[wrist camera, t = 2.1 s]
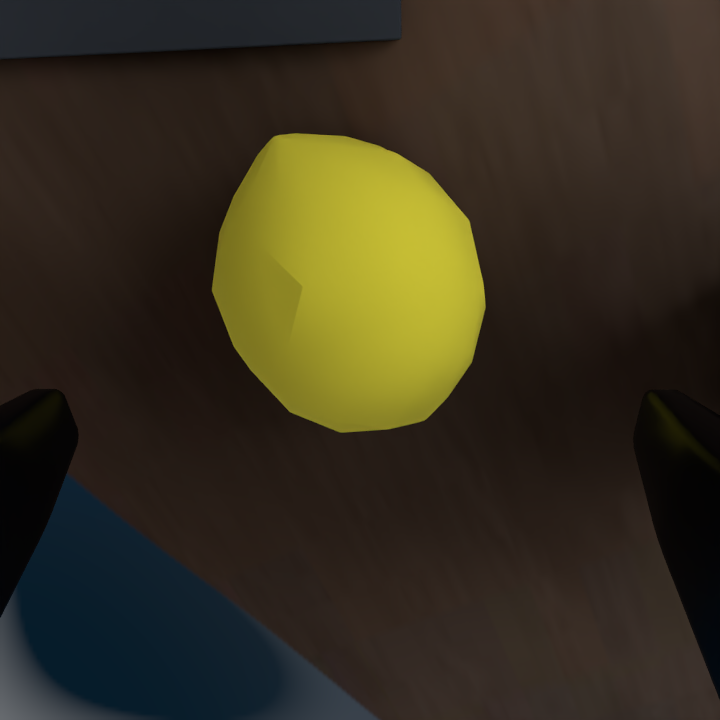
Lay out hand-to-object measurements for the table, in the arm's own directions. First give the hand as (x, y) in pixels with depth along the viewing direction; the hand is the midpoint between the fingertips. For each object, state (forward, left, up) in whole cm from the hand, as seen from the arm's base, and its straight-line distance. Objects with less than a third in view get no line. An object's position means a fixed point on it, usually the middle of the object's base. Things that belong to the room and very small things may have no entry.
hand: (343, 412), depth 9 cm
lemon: (0, 0, -7) cm, 7 cm away
